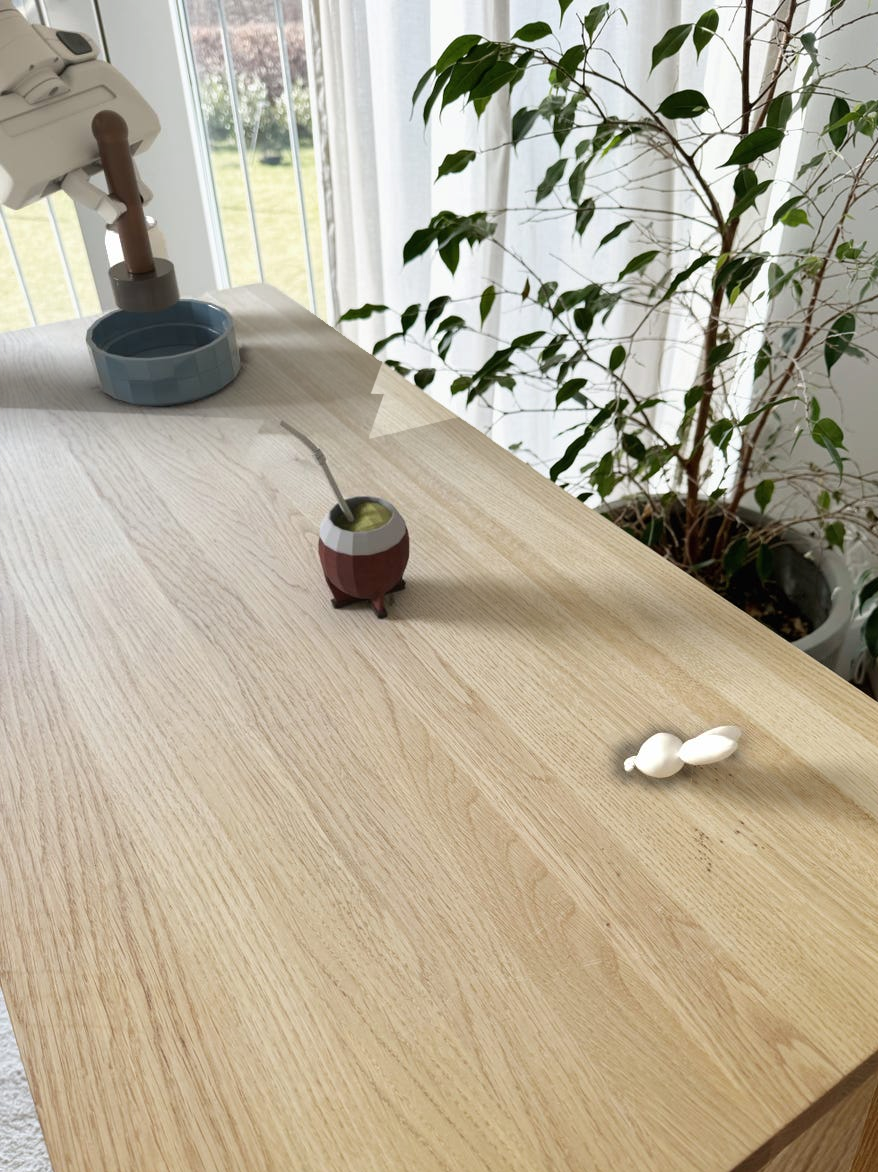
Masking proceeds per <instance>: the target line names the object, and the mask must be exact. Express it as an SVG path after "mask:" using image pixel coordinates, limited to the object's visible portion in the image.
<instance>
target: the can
mask: <svg viewBox="0 0 878 1172" xmlns="http://www.w3.org/2000/svg"><path fill="white" fill-rule="evenodd" d="M144 216H145V221H146V226H147V230H148V235H149V240H150V244H151V249H152V254H153V257H156V258H163V259H166V260H169V261H170V258H169V253H168V249H167V244H166V239H165V236H164V233H163V231H162V230H161V228H160V227H159V225H158V221H157V219H156V218H155V217H153V216H149V215H144ZM104 228H105V230H106V232H105V237H104V243H105V248H106V253H107V258H108V261H109V266H110V268H111V267H112V266H113V265H115V264H117V263H119V262H122V261H125V260H124V256H123V252H122V248H121V243H120V239H119V235H118V230H117V226H116V222H115V223H113V224H108V223H107V222H106V224H105V226H104Z"/></svg>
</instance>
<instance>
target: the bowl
mask: <svg viewBox="0 0 878 1172" xmlns="http://www.w3.org/2000/svg"><path fill="white" fill-rule="evenodd" d="M85 344H86V347H87V352H88V354H89V358H90V361H91V365H92V369H93V372H94V376H95V379H96V383H97V385H98V386H99V387H100V389H101V390H102V392H103V393H104V394H107V395H108V396H110V397H111V398H114V399H116V400H119V401H122V402H124V403H129V404H132V405H137V406H145V407H147V406H148V407H165V406H166V407H167V406H176V405H177V406H178V405H181V404H187V403H191V402H195V401H198V400H202V399H205V398H207V397H209V396H211V395H214V394H215V393H217V392H219V391H221V390H222V389H224V387H226V386H227V385H228V384H229V383H231V382H232V381H233V380H235V378H236V377H237V375H238V374H239V372H240V370H241V368H242V367H241V358H240V351H239V346H238V345H239V344H238V339H237V335H236V327H235V323H234V316H233V315H232V314H231V313H230V312H229V311H228V310H227V309H226V308H224V307H222V306H220V305H217V304H215V303H212V302H209V301H203V300H198V299H194V298H193V299H192V298H180V299H179V301H178V302H177V303H176V304H174V305H173V306H170V307H168V308H166V309H162V310H159V311H153V312H143V313H137V312H128V311H124V310H122V309H120V308H116V309H115V310H112V311H109V312H107V313H106V314H104V315H103V316H101V317H99V318H98V319H96V320H95V321H94V322H93V323H92V324H91V325H90V326H89V327H88V329H87V330H86V334H85Z"/></svg>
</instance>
